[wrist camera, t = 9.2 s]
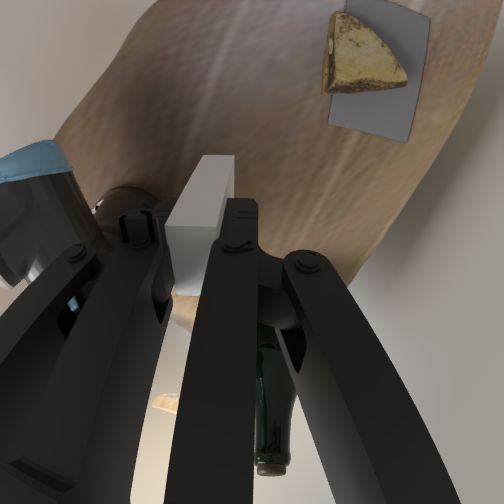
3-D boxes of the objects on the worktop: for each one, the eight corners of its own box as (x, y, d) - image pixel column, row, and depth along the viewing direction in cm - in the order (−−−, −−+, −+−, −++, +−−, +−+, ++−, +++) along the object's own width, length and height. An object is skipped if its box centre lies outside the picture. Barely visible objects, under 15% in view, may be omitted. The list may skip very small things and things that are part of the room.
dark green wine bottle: (239, 298, 55) (219, 476, 28) (252, 255, 48) (235, 465, 22) (291, 308, 56) (296, 481, 29) (312, 269, 49) (333, 468, 23)
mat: (327, 123, 35) (327, 124, 34) (347, -11, 23) (348, -12, 22) (405, 142, 35) (406, 143, 35) (429, 19, 23) (430, 19, 23)
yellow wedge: (360, -5, 21) (392, 55, 21) (386, 30, 27) (412, 87, 27) (288, 30, 28) (306, 89, 28) (323, 56, 35) (341, 110, 35)
